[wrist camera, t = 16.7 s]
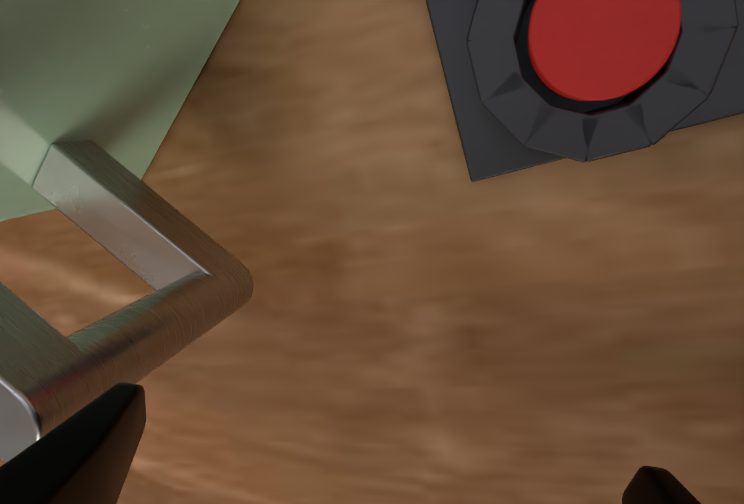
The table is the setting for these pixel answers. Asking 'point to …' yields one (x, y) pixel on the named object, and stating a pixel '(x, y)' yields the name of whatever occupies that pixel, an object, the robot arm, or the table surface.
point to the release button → (601, 44)
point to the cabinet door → (103, 193)
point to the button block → (572, 117)
